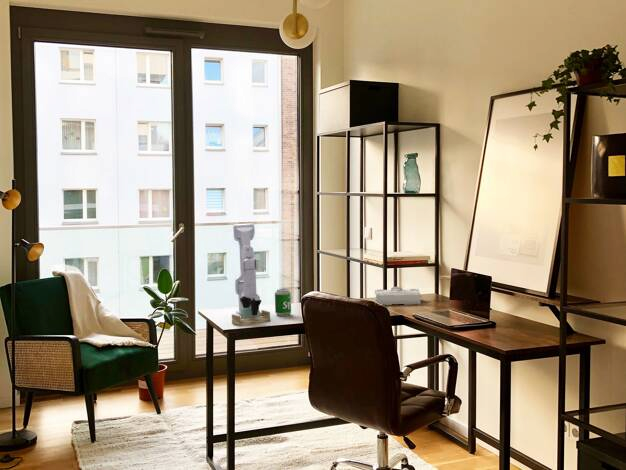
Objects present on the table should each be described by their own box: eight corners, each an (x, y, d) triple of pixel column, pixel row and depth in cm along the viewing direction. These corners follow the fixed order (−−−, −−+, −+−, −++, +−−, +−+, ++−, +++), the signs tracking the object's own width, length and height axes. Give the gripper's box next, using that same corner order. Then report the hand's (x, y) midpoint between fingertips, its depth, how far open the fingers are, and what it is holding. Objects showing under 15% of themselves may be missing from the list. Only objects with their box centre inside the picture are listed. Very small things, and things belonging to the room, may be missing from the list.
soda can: (278, 317, 334) (277, 291, 333) (273, 314, 341) (272, 289, 340) (293, 315, 337) (292, 290, 336) (288, 312, 344) (287, 288, 343)
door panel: (256, 319, 327) (256, 306, 326) (259, 320, 325) (259, 307, 324) (241, 321, 323) (240, 308, 322) (243, 322, 320) (243, 309, 320)
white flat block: (431, 305, 353) (430, 290, 353) (374, 306, 355) (374, 291, 355) (427, 300, 372) (427, 285, 372) (374, 300, 374) (374, 286, 374)
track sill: (263, 318, 331) (263, 310, 331) (270, 320, 326) (270, 311, 325) (231, 323, 322) (231, 314, 322) (238, 325, 317) (237, 316, 316)
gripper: (234, 283, 327) (235, 312, 328) (249, 287, 314) (250, 317, 315) (248, 282, 330) (249, 310, 331) (263, 285, 318) (264, 315, 319)
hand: (250, 314), depth 324 cm, fingers open, 7 cm apart
